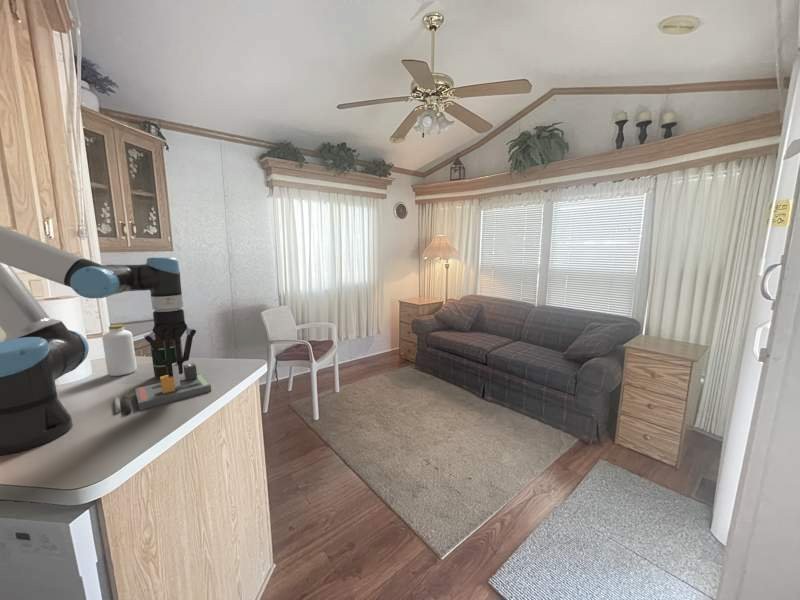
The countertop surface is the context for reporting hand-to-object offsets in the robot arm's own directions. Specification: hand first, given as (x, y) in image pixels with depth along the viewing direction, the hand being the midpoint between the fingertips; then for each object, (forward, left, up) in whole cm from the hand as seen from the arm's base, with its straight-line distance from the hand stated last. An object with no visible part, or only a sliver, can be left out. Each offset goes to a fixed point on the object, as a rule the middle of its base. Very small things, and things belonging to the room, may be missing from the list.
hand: (176, 384), depth 101 cm
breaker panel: (-1, +3, -4) cm, 5 cm away
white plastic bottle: (-12, +38, -4) cm, 40 cm away
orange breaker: (-2, 0, -1) cm, 3 cm away
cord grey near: (-14, +3, -4) cm, 15 cm away
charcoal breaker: (+5, +7, -1) cm, 8 cm away
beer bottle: (0, +23, -4) cm, 24 cm away
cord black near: (-12, +1, -4) cm, 13 cm away
